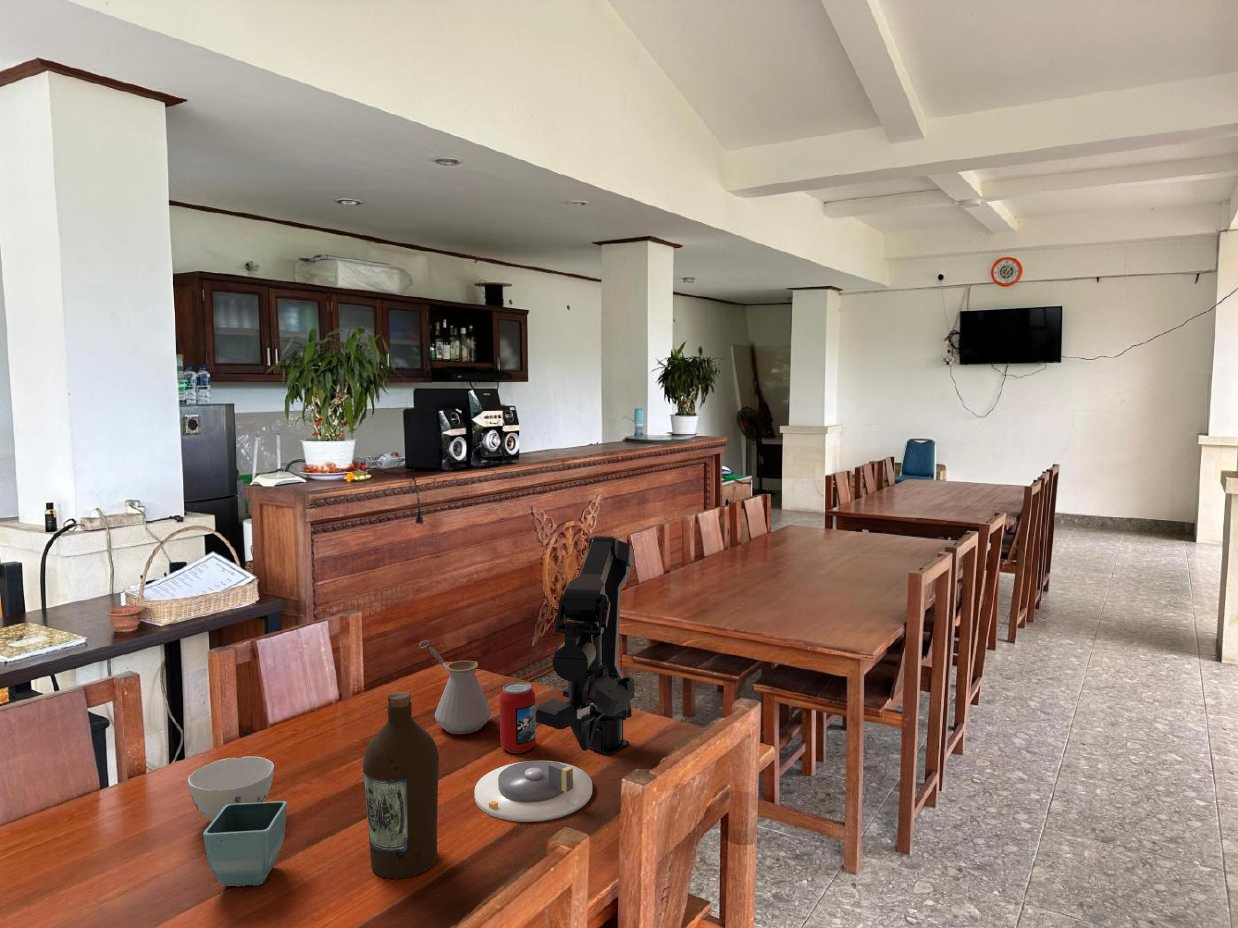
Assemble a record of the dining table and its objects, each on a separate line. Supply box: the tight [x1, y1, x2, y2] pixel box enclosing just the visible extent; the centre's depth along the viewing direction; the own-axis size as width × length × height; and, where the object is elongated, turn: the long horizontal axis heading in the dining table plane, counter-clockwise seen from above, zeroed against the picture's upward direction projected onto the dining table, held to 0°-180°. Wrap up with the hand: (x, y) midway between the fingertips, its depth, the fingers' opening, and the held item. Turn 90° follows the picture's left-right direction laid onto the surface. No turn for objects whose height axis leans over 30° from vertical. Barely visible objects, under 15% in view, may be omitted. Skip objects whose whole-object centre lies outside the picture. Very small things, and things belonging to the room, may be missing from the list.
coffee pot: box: [418, 639, 493, 735], centre depth 176 cm, size 21×12×15 cm, turn 43°
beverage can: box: [499, 681, 537, 754], centre depth 162 cm, size 7×7×12 cm
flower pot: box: [202, 800, 288, 887], centre depth 120 cm, size 9×9×9 cm
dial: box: [498, 760, 573, 802], centre depth 143 cm, size 14×12×5 cm
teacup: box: [187, 755, 275, 823], centre depth 137 cm, size 15×12×8 cm
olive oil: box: [362, 691, 440, 880], centre depth 123 cm, size 11×11×25 cm
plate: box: [474, 760, 593, 823], centre depth 144 cm, size 20×20×2 cm
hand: (585, 749), depth 144 cm, fingers closed
